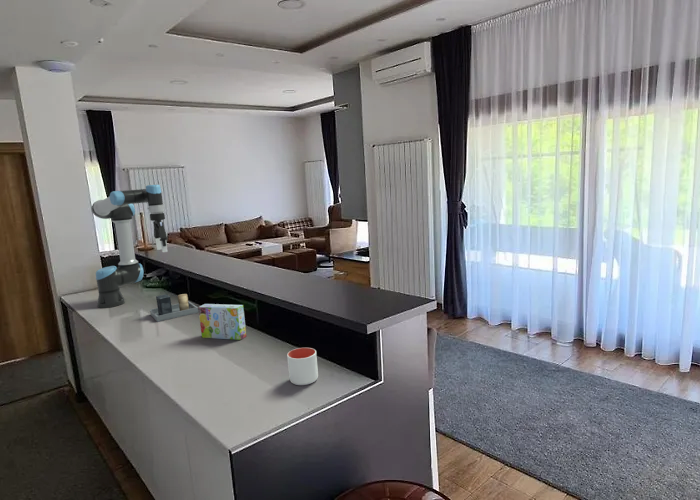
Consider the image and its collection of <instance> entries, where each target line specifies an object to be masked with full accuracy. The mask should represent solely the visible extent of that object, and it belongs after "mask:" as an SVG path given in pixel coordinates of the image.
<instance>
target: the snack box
mask: <svg viewBox="0 0 700 500" xmlns="http://www.w3.org/2000/svg"><path fill="white" fill-rule="evenodd" d="M197 307H198V312H199V313H198V316H199V317H198V318H199V323H200V331H201V332H200V333H201V338H203V339H215V340H216V339H218V340H234V341H235V340H236V341H241V340H242V339H243V340H244V339H245V338H246V337H247V328H246V320H245V319H246V318H245V310H244V304H224V303H223V304H219V303H216V304H215V303H204V304H202V305H200V306H197Z"/></svg>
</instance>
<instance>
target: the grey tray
mask: <svg viewBox="0 0 700 500" xmlns="http://www.w3.org/2000/svg"><path fill="white" fill-rule="evenodd" d="M188 305H189V309H187V310H182V311H180V309H179V303H175V304H171V306H172V313H169V314H164V315H159V314H158V307H156V308H152V309H149V314H150V315H149V316H151V317H152V318H153V319H154V320H155V321H156V322H157V323H158V322H164V321H168V320H172V319H177V318H181V317H185V316H186V317H187V316H189V315H194V314H199V310H198V307H199V306H196V305H195V304H194V303H193V302H191V301H189V300H188Z"/></svg>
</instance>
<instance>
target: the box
mask: <svg viewBox="0 0 700 500" xmlns="http://www.w3.org/2000/svg"><path fill="white" fill-rule="evenodd" d="M155 297H156V306H157V307H156V308H158V314H159V315H164V314H169V313H172V306H171V305H172V299H171V296H170V295H168V294H165V293H164V294H161V295H157V296H155Z"/></svg>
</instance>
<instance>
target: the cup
mask: <svg viewBox="0 0 700 500" xmlns="http://www.w3.org/2000/svg"><path fill="white" fill-rule="evenodd" d="M286 358H287V366H288V367H287V368H288V376H289V378H288V379H289V381H290V382H291V383H292V384H293V385H296V386H308V385H310V384H312V383H314V382H316V381H317V380H318V377H319V370H318V358H317V350H316V349H315V348H313V347H297V348H295V349H292V350H289V351H288V352H287V355H286Z"/></svg>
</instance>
